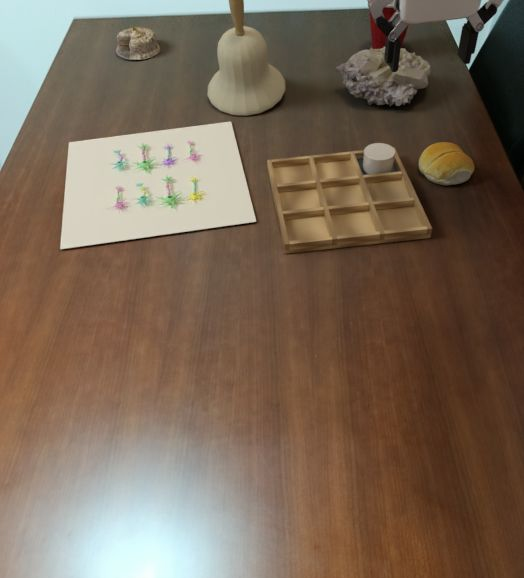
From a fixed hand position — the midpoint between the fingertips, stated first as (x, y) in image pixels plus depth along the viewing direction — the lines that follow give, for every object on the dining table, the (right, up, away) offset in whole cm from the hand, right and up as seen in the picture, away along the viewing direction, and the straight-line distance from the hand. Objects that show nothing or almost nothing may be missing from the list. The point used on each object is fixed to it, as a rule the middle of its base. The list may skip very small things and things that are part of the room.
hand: (427, 63), depth 78 cm
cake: (-50, +28, +51) cm, 77 cm away
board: (-9, -15, +14) cm, 23 cm away
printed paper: (-40, -10, +20) cm, 46 cm away
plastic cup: (+4, +25, +46) cm, 52 cm away
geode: (+1, +10, +34) cm, 36 cm away
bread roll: (+8, -9, +18) cm, 22 cm away
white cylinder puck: (-3, -8, +18) cm, 20 cm away
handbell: (-25, +11, +36) cm, 46 cm away
